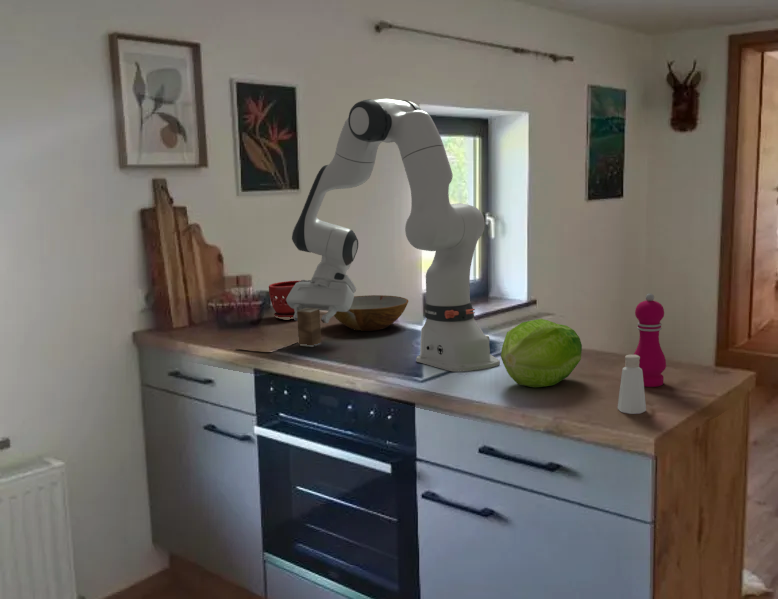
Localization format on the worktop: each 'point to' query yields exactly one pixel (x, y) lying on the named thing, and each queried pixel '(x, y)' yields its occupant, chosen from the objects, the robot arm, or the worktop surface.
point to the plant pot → (281, 298)
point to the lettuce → (540, 353)
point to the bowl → (372, 312)
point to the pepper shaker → (632, 387)
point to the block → (309, 326)
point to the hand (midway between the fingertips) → (310, 320)
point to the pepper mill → (650, 341)
